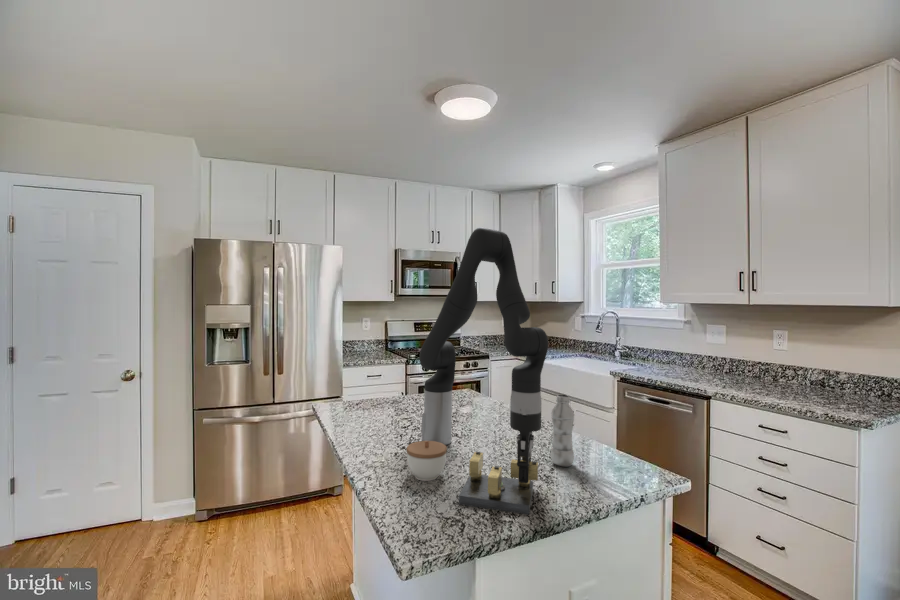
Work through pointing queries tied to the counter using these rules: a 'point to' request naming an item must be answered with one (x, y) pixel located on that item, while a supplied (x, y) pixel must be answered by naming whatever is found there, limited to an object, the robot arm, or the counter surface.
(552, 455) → the plastic bottle
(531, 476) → the knob
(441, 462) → the lidded jar
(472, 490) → the levelling plate
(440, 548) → the counter surface
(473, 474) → the knob
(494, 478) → the bar with square hole
